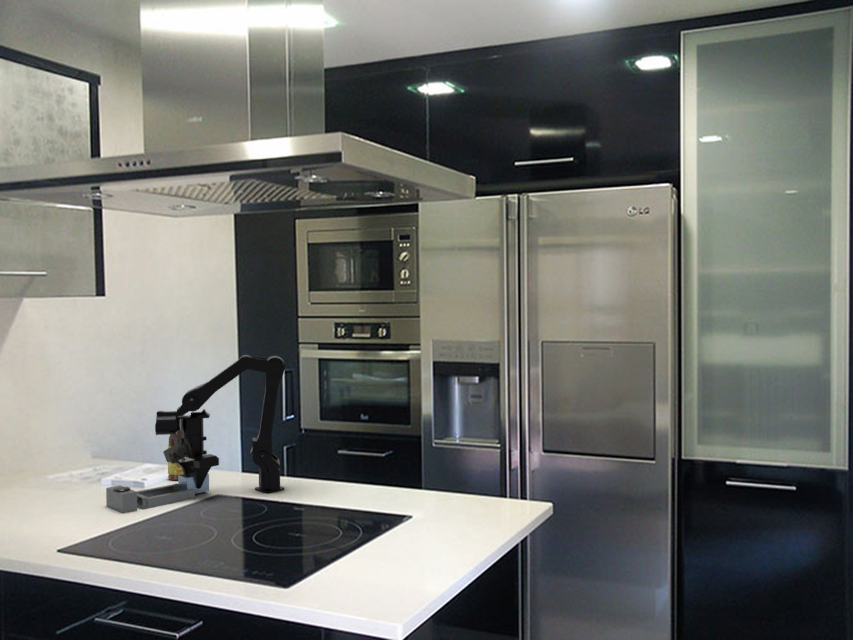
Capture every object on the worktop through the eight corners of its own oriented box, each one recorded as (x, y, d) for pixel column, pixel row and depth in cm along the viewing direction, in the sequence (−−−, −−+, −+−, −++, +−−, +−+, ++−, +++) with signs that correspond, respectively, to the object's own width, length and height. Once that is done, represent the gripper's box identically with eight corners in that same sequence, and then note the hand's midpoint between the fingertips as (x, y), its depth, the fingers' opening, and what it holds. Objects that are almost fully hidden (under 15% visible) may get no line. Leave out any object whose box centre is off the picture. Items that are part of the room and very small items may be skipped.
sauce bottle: (178, 482, 244) (178, 417, 243) (163, 479, 246) (162, 416, 246) (193, 477, 249) (193, 414, 249) (178, 475, 252) (177, 413, 251)
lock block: (209, 490, 230) (208, 473, 230) (187, 495, 225) (186, 477, 225) (200, 487, 234) (200, 470, 234) (178, 492, 229) (178, 474, 229)
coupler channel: (196, 498, 224) (196, 480, 224) (122, 513, 209) (122, 493, 209) (177, 491, 232) (177, 473, 232) (105, 505, 216) (104, 486, 216)
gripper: (151, 433, 230) (152, 486, 230) (183, 441, 217) (184, 498, 217) (186, 428, 238) (187, 479, 238) (219, 436, 225) (220, 490, 225)
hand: (194, 486), depth 230 cm, fingers closed on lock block, 5 cm apart
